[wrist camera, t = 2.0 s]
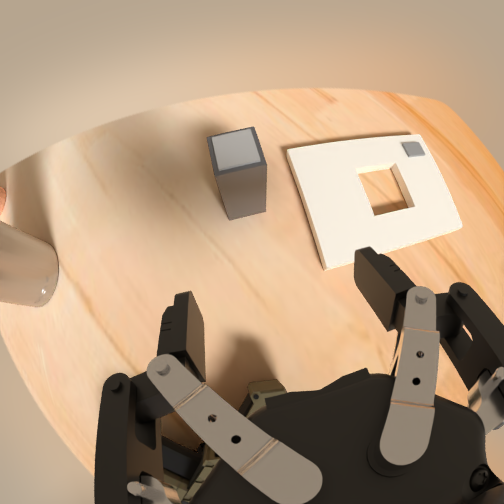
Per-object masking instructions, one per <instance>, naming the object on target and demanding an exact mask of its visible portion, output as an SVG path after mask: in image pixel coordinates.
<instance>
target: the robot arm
mask: <svg viewBox="0 0 504 504" xmlns="http://www.w3.org/2000/svg"><path fill="white" fill-rule="evenodd" d="M57 279H58V260H57V256H56V253H55V251H54V249H53V247H52V246H51V245H50V244H48V243H47V242H45V241H42V240H40V239H38V238H36V237H34V236H31V235H29V234H27V233H25V232H23V231H21V230H19V229H17V228H14V227H12V226H10V225H8V224H6V223H4V222H2V221H0V302H5V303H11V304H17V305H24V306H32V307H41V306H43V305H44V304H46V303H47V302H48V301H49V300H50V298H51V296H52V295H53V293H54V290H55V288H56V284H57ZM354 280H355V283H356V286H357V287H358V289H359V290H360V292H361V293H362V295H363V296H364V297H365V299H366V300H367V302H368V303H369V305H370V306H371V308H372V309H373V311H374V312H375V314H376V315H377V316H378V318H379V319H380V321H381V322H382V324H383V326H384V327H385V329H386V330H387V332H388V331H391V330H393V329H396V330H397V332H398V333H397V336H396V342H395V347H394V353H393V358H392V362H391V367H390V370H389V374H388V375H387V374H379V373H376V374H369V372H368V370H367V368H364V369H361V370H359V371H356V372H353V373H350V374H348V375H345V376H342V377H341V378H339V379H338V380H336V381H334V382H333V383H331V384H329V385H328V386H326V387H324V388H322V389H320V390H316V391H301V392H289V393H285V394H281V395H277V396H273V397H268V398H265V403H266V405H265V406H263V407H261V408H259V409H258V410H256V411H255V412H253V413H252V414H251V415H250V416H249V417H248V418H246V417H244V416H243V415H242V414H240V413H239V412H238V411H237V410H236V409H234V408H233V407H232V406H231V405H230V404H228V403H227V402H226V401H225V400H224V399H222V398H221V397H220V396H219V395H218V394H217V393H216V392H214V391H213V390H212V389H211V388H210V387H209V386H207V385H206V384H204V385H203V384H202V383H201V382H206V375H205V345H204V322H203V318H202V315H201V312H200V310H199V308H198V305H197V303H196V301H195V298H194V296H193V294H192V292H191V291H188V292H183V293H179V294H176V295H175V299H174V306H169V307H167V309H166V310H165V312H164V313H163V315H162V321H161V328H160V335H159V342H158V350H157V357H155V358H154V359H153V360H152V361H151V362H150V363H149V365H148V367H147V371H145V372H144V373H141V374H139V375H137V376H134V377H132V378H129V377H128V376H127V375H126V374H123V373H116V374H113V375H112V376H110V377H109V378H108V379H107V380H106V381H105V383H104V385H103V390H102V397H101V404H100V411H99V420H98V429H97V440H96V454H95V479H94V481H95V482H94V484H95V485H94V497H95V504H182V503H181V501H180V500H179V497H178V494H177V492H176V490H175V488H174V487H173V486H171V485H170V484H168V483H166V482H164V473H163V460H162V442H161V417H162V416H165V415H167V414H169V413H172V412H174V411H176V412H177V413H178V414H179V415H180V417H181V418H182V419H183V420H184V421H185V422H186V423H187V424H188V425H189V426H190V427H191V428H192V429H193V430H194V432H195V433H196V434H197V435H198V436H199V437H200V438H201V439H202V440H203V441H204V442H205V443H206V444H207V445H208V446H209V447H211V448H212V449H213V450H214V451H215V452H216V453H217V454H218V455H219V456H220V459H219V460H218V462H217V463H216V465H215V466H214V468H213V469H212V471H211V472H210V474H209V475H208V476H207V478H206V479H205V481H204V482H203V483H202V485H201V486H200V488H199V489H198V490H197V492H196V493H195V494H194V496H193V497H192V499H191V500H190V502H189V504H504V482H502V481H501V480H500V479H499V478H498V477H497V476H496V475H495V474H494V473H493V472H492V471H491V469H490V468H489V466H488V464H487V459H486V452H485V435H486V434H488V433H489V432H490V431H491V430H496V429H499V428H500V427H501V426H503V425H504V325H503V324H502V323H501V322H500V320H499V319H498V318H497V317H496V315H495V314H494V313H493V312H492V311H491V309H490V308H489V307H488V306H487V305H486V303H485V302H484V301H483V300H482V299H481V298H480V296H479V295H478V294H477V293H476V292H475V291H474V290H473V289H472V288H471V287H470V286H469V285H467V284H465V283H461V282H457V283H454V284H452V285H451V286H450V289H449V292H448V293H440V294H434V293H433V291H431V290H430V289H428V288H426V287H422V286H416V285H415V284H414V283H413V282H412V281H411V280H410V279H409V277H408V276H407V275H406V274H405V273H404V272H403V271H402V270H400V268H399V267H398V266H397V265H396V264H395V263H394V262H393V261H392V260H391V259H390V258H389V257H387V256H385V255H383V254H381V253H380V254H377V253H376V252H375V251H374V249H373V248H372V247H370V246H368V247H365V248H361V249H357V250H355V254H354ZM463 324H464V325H465V327H466V328H467V329H468V331H469V332H470V333H471V335H472V339H473V341H472V340H471V338H470V337H469V335H468V334H467V333H466V331H465V330H464V329H463ZM439 342H440V344H441V345H442V347H443V348H444V350H445V352H446V353H447V355H448V356H449V358H450V360H451V361H452V363H453V365H454V366H455V368H456V370H457V371H458V373H459V375H460V377H461V378H462V380H463V382H464V384H465V385H466V387H467V389H468V391H469V393H468V405H467V407H465V406H462V405H460V404H457V403H455V402H452V401H450V400H448V399H445V398H443V397H440V396H438V395H436V394H435V389H436V381H437V371H438V359H439Z"/></svg>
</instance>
